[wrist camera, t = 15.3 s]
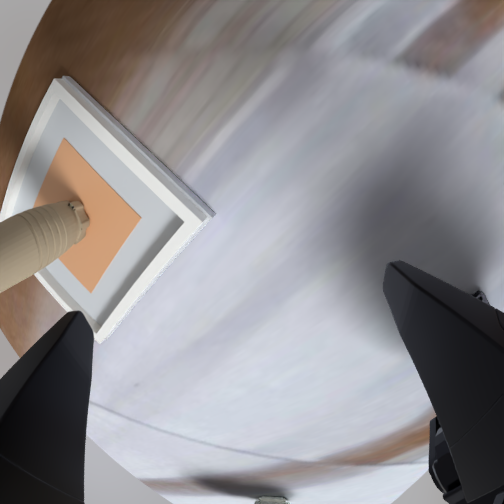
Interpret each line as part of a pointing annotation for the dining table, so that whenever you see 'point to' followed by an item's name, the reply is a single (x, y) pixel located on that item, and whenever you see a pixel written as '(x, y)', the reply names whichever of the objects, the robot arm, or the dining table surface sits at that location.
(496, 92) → the dining table surface
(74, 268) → the white shallow tray
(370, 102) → the dining table surface
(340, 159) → the dining table surface
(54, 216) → the handle
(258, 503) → the pneumatic valve
